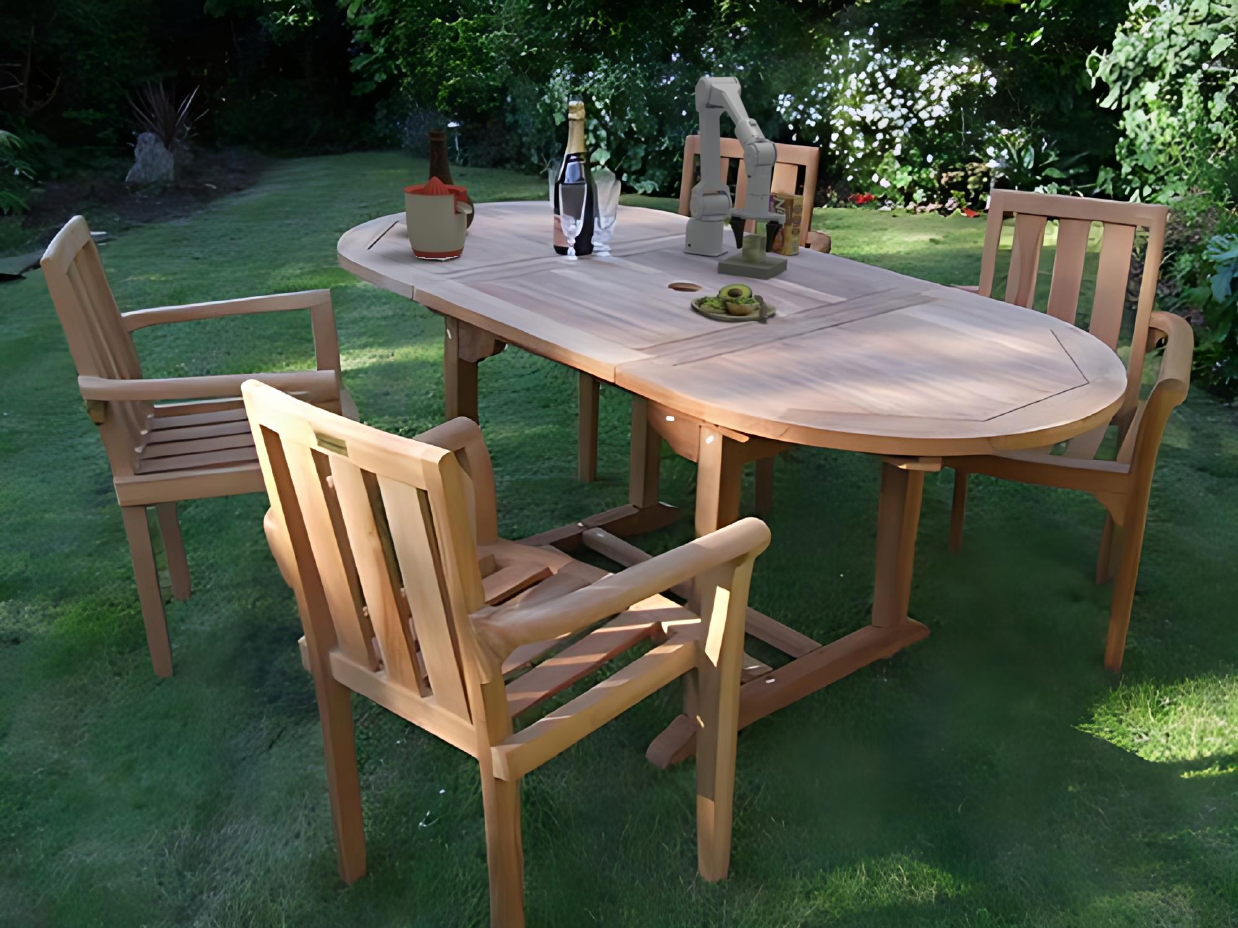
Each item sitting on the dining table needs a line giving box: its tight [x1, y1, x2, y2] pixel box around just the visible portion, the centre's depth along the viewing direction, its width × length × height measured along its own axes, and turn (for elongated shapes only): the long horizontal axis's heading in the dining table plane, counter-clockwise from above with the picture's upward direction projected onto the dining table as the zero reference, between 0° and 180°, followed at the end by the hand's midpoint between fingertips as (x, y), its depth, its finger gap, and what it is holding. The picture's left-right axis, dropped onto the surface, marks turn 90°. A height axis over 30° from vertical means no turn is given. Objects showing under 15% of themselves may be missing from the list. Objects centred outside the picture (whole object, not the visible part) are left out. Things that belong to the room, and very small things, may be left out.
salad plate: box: [690, 283, 777, 323], centre depth 238 cm, size 19×18×5 cm
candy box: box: [766, 191, 805, 256], centre depth 293 cm, size 9×4×15 cm, turn 39°
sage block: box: [741, 233, 767, 264], centre depth 273 cm, size 4×4×6 cm
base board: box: [717, 252, 788, 280], centre depth 275 cm, size 13×13×2 cm
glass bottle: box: [425, 129, 475, 230], centre depth 304 cm, size 18×18×28 cm
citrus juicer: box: [402, 177, 472, 258], centre depth 279 cm, size 16×17×20 cm
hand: (753, 250), depth 273 cm, fingers open, 7 cm apart
